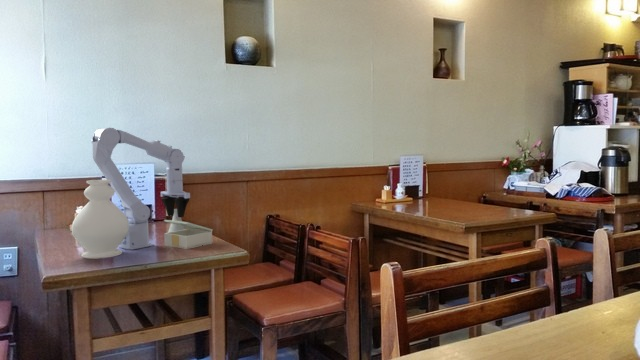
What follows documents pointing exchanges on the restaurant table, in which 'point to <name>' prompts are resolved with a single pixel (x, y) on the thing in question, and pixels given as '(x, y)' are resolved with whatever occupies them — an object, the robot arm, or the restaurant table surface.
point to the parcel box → (188, 238)
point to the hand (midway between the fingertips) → (175, 216)
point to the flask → (173, 226)
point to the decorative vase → (100, 222)
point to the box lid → (188, 225)
